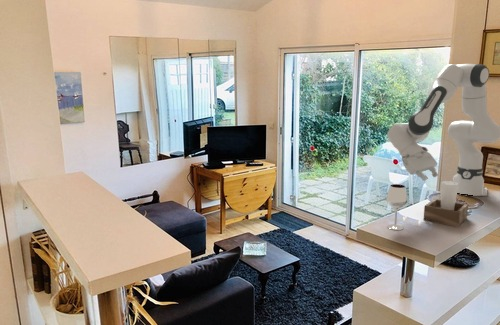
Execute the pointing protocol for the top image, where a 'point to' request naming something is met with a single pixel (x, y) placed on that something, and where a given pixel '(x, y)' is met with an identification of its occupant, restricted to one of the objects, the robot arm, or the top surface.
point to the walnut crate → (445, 213)
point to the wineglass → (396, 201)
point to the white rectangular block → (448, 194)
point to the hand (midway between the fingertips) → (431, 178)
